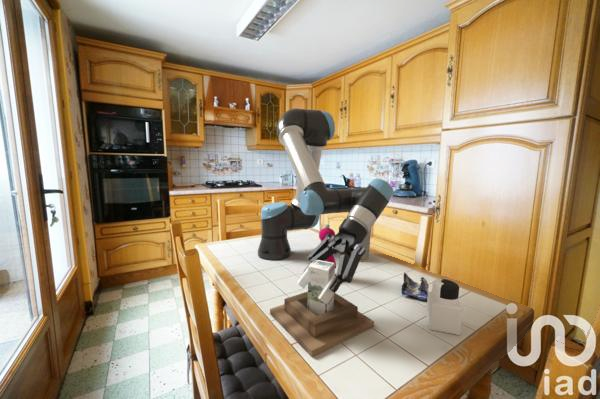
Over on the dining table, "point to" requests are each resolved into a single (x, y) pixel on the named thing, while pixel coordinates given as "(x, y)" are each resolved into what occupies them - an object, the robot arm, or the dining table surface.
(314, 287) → the syrup box
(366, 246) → the soap bottle
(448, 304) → the white bottle
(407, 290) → the snack package
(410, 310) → the dining table surface
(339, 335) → the walnut holder
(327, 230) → the pepper mill
